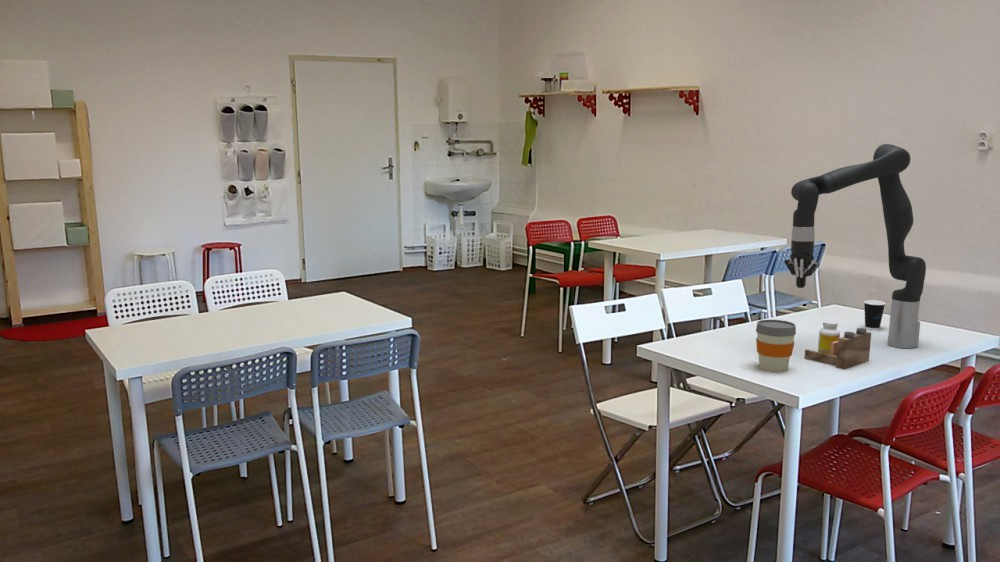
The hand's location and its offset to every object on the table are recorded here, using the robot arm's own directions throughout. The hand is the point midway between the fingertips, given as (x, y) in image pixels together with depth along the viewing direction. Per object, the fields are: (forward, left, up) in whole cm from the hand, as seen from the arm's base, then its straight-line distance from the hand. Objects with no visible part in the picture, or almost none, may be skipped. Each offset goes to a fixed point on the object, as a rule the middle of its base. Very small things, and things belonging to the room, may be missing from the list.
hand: (800, 287), depth 286 cm
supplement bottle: (-8, +9, -23) cm, 26 cm away
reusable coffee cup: (+15, +22, -23) cm, 35 cm away
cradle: (-9, +12, -23) cm, 28 cm away
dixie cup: (-41, -33, -23) cm, 58 cm away
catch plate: (-10, +13, -22) cm, 27 cm away
